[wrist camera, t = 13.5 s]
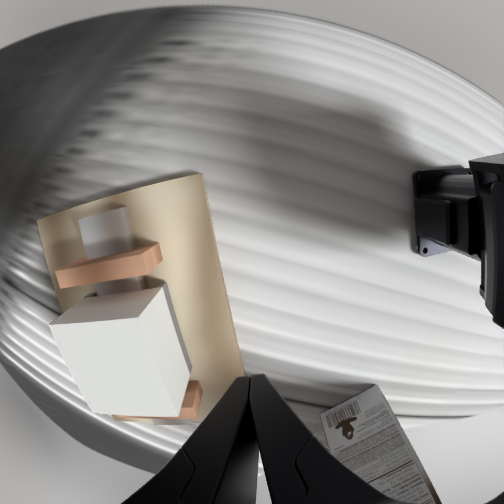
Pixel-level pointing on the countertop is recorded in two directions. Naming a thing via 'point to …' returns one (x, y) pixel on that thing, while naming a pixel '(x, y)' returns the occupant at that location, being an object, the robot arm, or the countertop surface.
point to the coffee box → (377, 447)
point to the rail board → (153, 274)
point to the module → (126, 352)
